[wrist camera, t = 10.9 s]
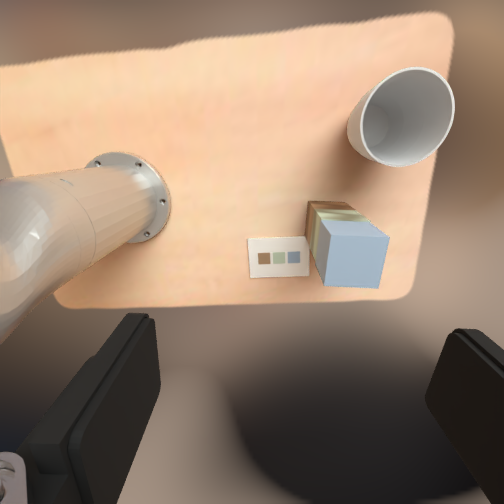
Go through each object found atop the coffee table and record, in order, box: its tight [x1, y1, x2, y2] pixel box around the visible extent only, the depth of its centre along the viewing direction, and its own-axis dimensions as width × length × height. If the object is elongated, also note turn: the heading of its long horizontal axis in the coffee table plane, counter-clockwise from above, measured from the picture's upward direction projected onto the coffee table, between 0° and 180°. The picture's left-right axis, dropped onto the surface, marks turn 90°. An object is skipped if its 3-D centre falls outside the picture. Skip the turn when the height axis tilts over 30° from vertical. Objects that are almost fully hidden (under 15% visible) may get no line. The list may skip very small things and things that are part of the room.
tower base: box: [305, 201, 371, 262], centre depth 34 cm, size 5×5×10 cm
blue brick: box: [315, 220, 390, 288], centre depth 27 cm, size 5×5×5 cm
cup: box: [347, 67, 455, 167], centre depth 29 cm, size 8×8×10 cm
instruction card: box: [248, 236, 310, 278], centre depth 41 cm, size 9×6×1 cm
